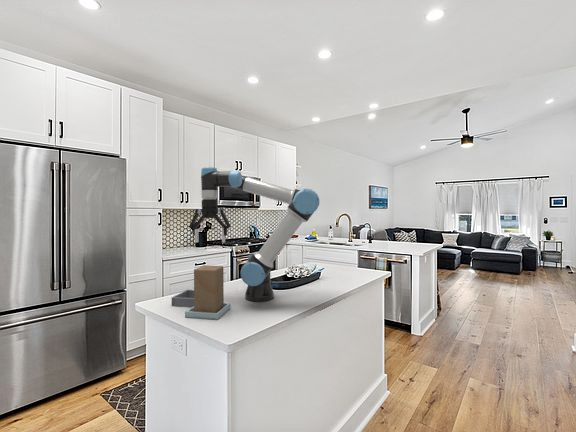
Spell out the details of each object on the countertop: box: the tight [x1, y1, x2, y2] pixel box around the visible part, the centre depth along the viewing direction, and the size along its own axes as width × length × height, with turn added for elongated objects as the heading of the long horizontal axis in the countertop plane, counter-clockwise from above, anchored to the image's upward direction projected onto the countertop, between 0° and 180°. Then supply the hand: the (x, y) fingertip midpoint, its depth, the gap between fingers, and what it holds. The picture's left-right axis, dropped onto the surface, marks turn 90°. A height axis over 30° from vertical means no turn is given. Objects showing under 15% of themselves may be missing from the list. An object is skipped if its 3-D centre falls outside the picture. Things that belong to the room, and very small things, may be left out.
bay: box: [171, 289, 194, 308], centre depth 156 cm, size 14×15×4 cm
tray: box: [184, 302, 232, 321], centre depth 140 cm, size 15×15×2 cm
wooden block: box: [193, 265, 225, 313], centre depth 140 cm, size 10×10×20 cm
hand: (210, 242), depth 152 cm, fingers open, 13 cm apart
